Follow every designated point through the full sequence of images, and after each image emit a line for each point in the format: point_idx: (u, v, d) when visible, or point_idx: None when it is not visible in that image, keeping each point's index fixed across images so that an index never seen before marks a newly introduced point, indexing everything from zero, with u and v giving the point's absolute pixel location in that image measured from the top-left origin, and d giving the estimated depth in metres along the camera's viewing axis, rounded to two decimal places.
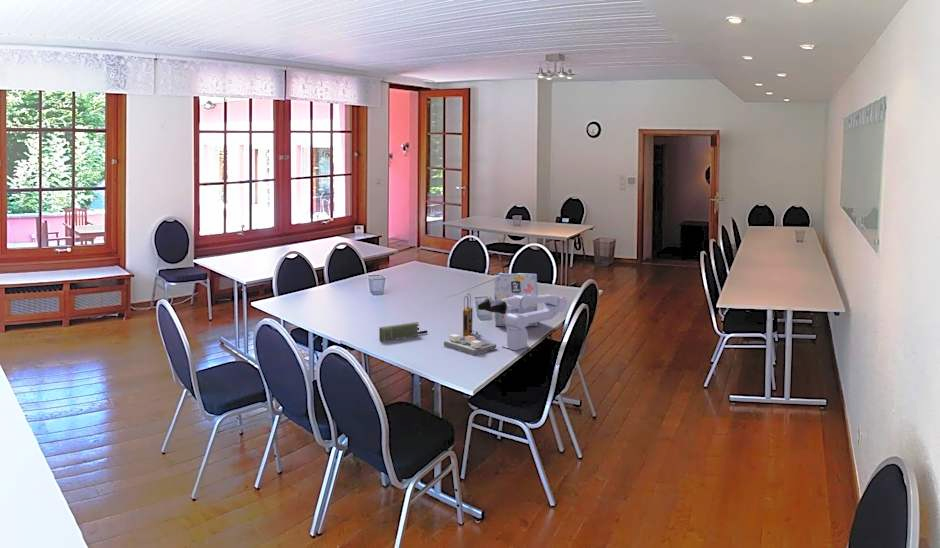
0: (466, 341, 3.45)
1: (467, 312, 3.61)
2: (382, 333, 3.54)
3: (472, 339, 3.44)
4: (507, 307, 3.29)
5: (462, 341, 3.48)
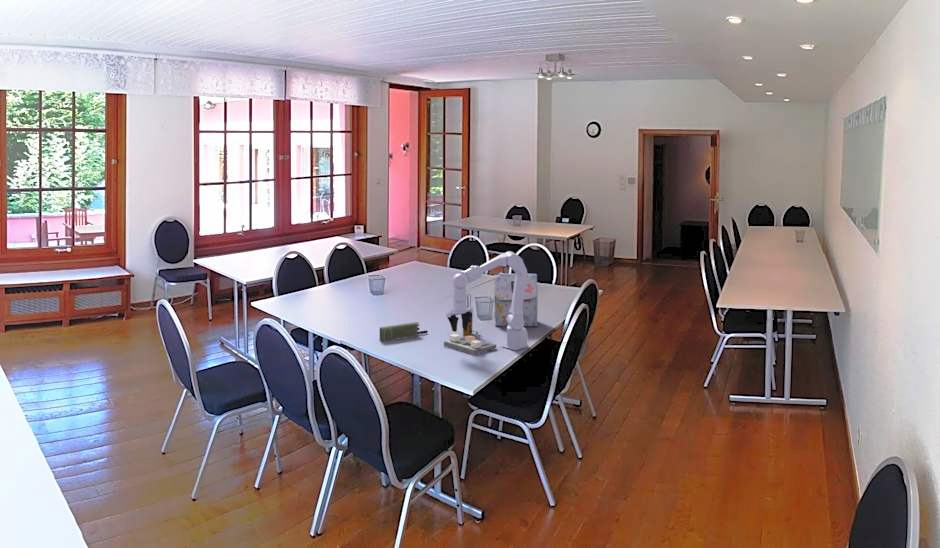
0: (466, 341, 3.45)
1: None
2: (382, 333, 3.54)
3: (472, 339, 3.44)
4: None
5: (462, 341, 3.48)
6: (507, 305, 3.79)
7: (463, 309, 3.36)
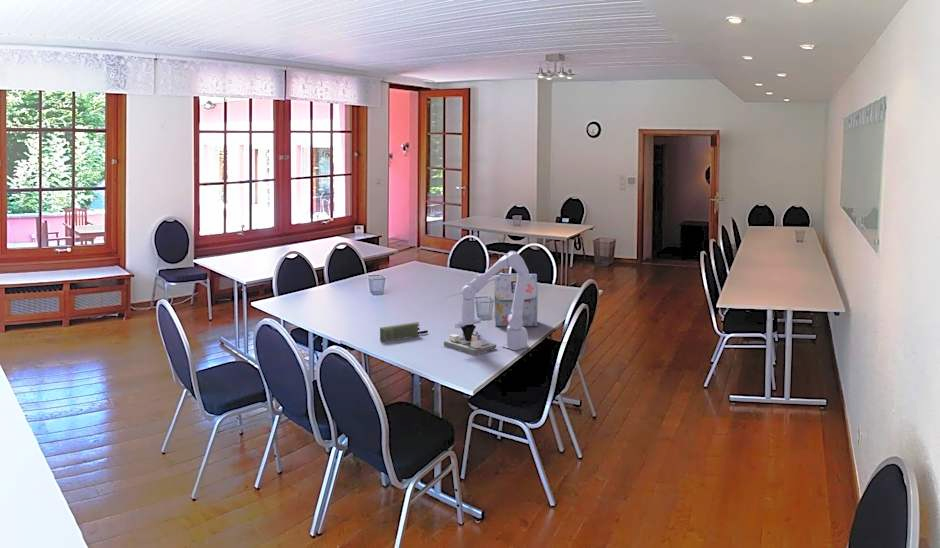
0: None
1: None
2: (383, 333, 3.54)
3: (474, 338, 3.45)
4: (456, 327, 3.39)
5: (462, 341, 3.48)
6: (507, 305, 3.79)
7: (471, 320, 3.40)
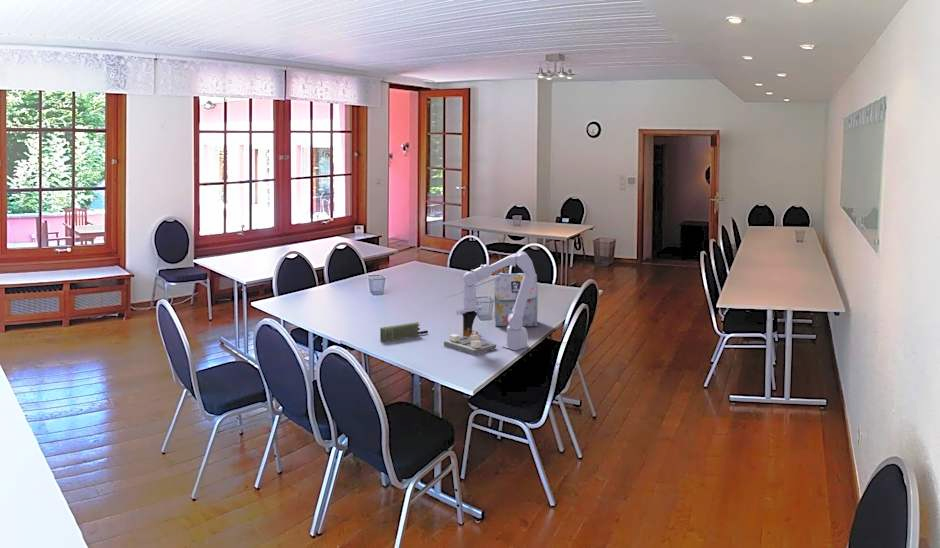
0: (471, 340, 3.47)
1: None
2: (383, 333, 3.54)
3: (477, 338, 3.46)
4: None
5: (462, 341, 3.48)
6: (507, 305, 3.79)
7: (473, 307, 3.40)
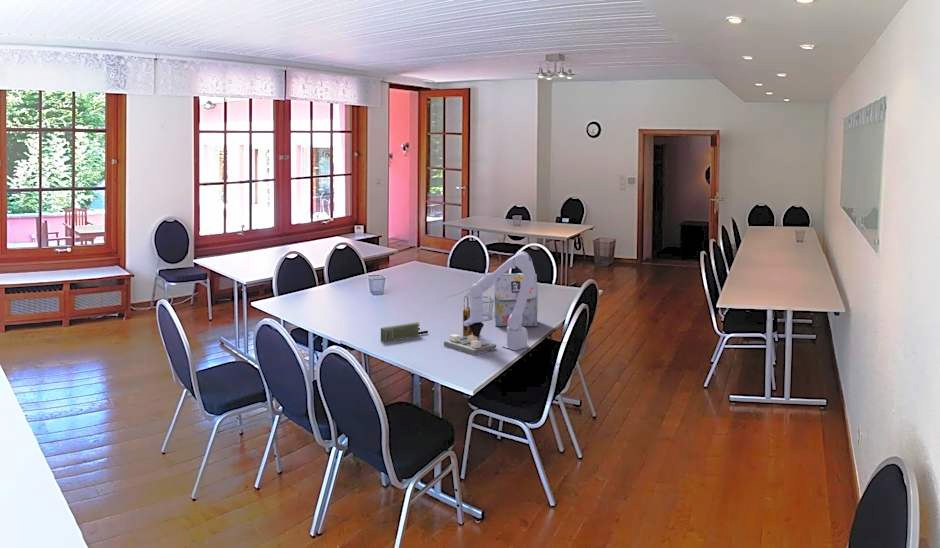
0: (468, 340, 3.46)
1: (467, 312, 3.61)
2: (383, 334, 3.53)
3: (474, 338, 3.45)
4: None
5: (462, 341, 3.48)
6: (507, 305, 3.79)
7: (480, 318, 3.44)
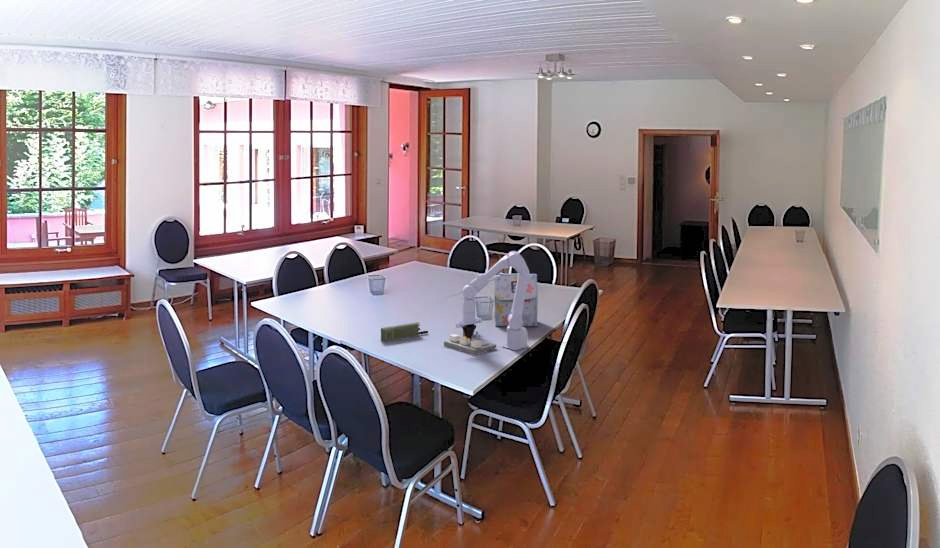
0: (461, 342, 3.43)
1: None
2: (384, 334, 3.53)
3: (467, 340, 3.42)
4: None
5: None
6: (507, 305, 3.79)
7: (472, 320, 3.41)
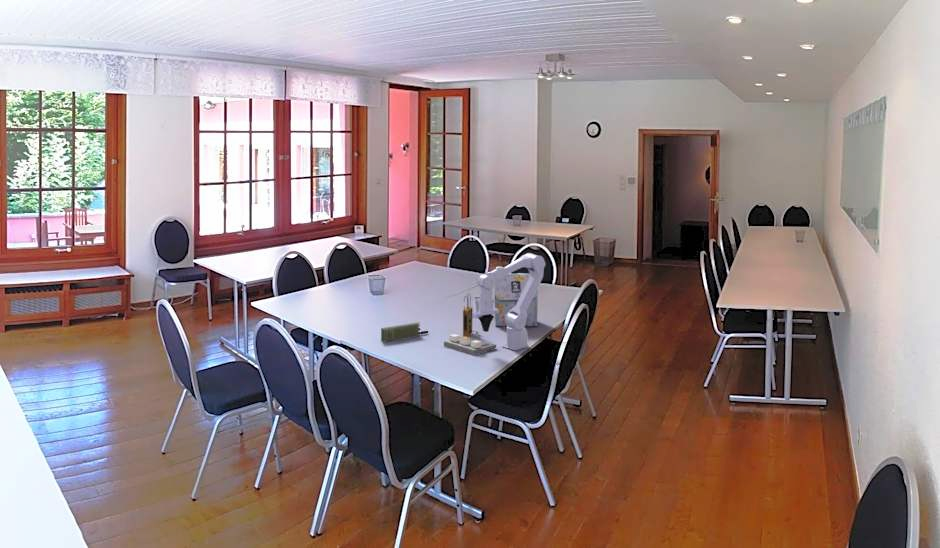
0: (461, 342, 3.43)
1: (467, 312, 3.61)
2: (384, 334, 3.53)
3: (467, 340, 3.42)
4: (474, 317, 3.33)
5: None
6: (507, 305, 3.79)
7: (489, 310, 3.34)
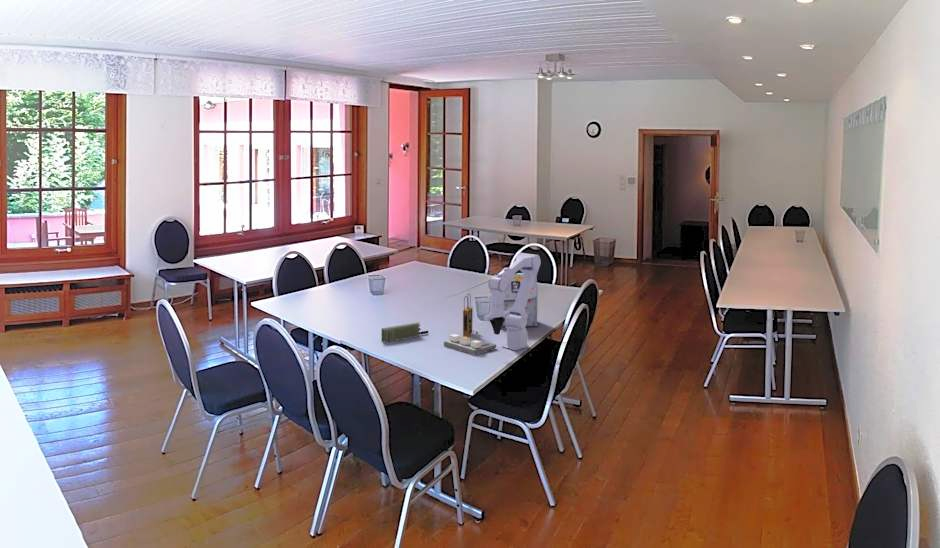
0: (461, 342, 3.43)
1: (467, 312, 3.61)
2: (384, 334, 3.53)
3: (467, 340, 3.42)
4: None
5: None
6: (507, 305, 3.79)
7: (501, 313, 3.29)
